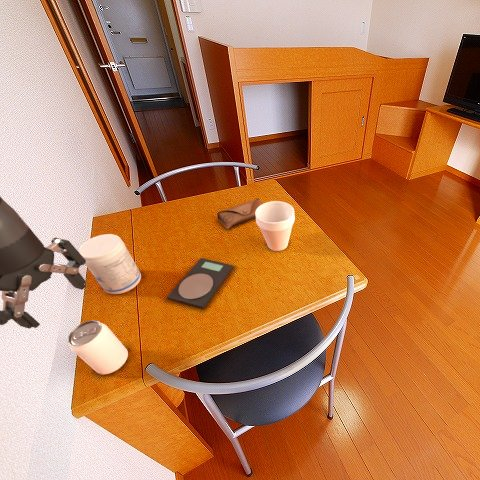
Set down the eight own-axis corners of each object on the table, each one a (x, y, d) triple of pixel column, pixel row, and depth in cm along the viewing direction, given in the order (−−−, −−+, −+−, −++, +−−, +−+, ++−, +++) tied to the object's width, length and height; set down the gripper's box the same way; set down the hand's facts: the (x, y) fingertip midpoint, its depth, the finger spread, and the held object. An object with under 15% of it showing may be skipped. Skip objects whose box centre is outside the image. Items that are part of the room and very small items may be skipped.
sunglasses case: (227, 229, 99) (220, 212, 97) (222, 229, 105) (215, 212, 103) (270, 212, 108) (264, 196, 106) (263, 212, 114) (257, 197, 112)
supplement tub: (97, 286, 78) (68, 248, 69) (129, 266, 85) (107, 228, 75) (117, 301, 75) (89, 263, 65) (149, 279, 81) (128, 241, 71)
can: (97, 353, 64) (68, 325, 56) (129, 343, 66) (105, 314, 58) (93, 380, 59) (61, 353, 51) (128, 368, 61) (102, 340, 54)
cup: (301, 238, 97) (301, 206, 88) (285, 260, 88) (282, 227, 80) (271, 229, 100) (267, 197, 92) (252, 250, 92) (246, 217, 83)
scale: (203, 309, 74) (201, 305, 73) (168, 299, 76) (166, 296, 75) (233, 267, 85) (232, 264, 84) (201, 260, 87) (200, 256, 86)
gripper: (-53, 277, 33) (34, 346, 43) (61, 212, 43) (109, 280, 54) (-96, 264, 34) (-2, 334, 45) (25, 204, 45) (78, 272, 55)
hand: (59, 305), depth 49 cm, fingers open, 8 cm apart
